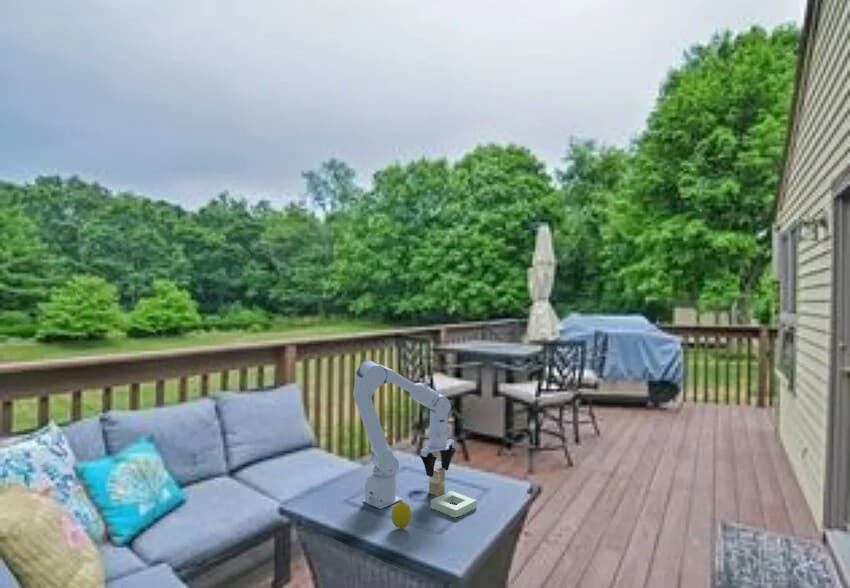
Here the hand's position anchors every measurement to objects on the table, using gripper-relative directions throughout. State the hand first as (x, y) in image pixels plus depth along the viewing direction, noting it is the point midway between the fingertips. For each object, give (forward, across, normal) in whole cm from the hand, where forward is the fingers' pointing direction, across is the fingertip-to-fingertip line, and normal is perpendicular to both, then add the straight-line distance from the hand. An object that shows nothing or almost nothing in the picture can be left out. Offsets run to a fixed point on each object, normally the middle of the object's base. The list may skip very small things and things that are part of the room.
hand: (437, 472), depth 189 cm
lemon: (+7, -26, -9) cm, 28 cm away
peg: (+7, 0, 0) cm, 7 cm away
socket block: (+7, -5, -11) cm, 14 cm away
